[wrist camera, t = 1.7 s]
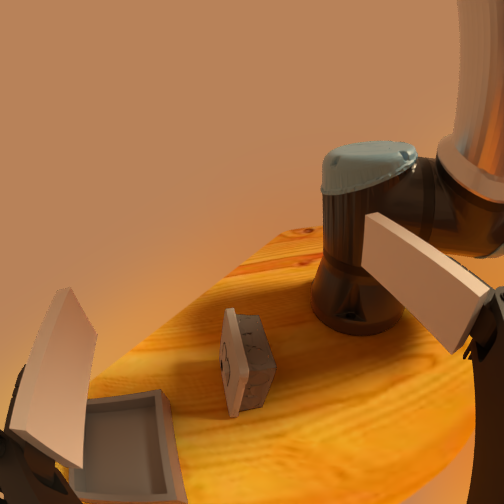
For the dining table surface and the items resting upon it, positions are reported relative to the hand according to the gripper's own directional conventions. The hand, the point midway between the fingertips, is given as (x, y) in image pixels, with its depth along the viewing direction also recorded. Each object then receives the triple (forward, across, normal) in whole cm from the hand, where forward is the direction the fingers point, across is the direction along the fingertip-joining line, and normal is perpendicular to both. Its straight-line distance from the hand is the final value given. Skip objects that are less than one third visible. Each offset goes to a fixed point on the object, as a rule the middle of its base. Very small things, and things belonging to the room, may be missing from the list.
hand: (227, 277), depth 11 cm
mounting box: (+2, -16, -22) cm, 27 cm away
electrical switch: (+10, 0, -22) cm, 24 cm away
